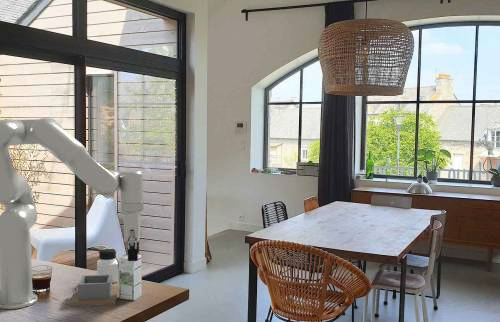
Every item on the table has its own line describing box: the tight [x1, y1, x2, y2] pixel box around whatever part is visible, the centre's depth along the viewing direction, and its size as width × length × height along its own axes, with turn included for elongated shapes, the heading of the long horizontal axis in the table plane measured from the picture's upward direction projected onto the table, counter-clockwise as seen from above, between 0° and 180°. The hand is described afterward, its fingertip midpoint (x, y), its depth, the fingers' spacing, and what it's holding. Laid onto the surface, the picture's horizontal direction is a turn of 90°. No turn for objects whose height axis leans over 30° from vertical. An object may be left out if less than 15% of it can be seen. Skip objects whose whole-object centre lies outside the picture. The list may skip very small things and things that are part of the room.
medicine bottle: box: [96, 247, 119, 284], centre depth 187 cm, size 7×7×12 cm
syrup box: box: [118, 253, 143, 302], centre depth 169 cm, size 6×6×14 cm
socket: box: [70, 274, 119, 307], centre depth 168 cm, size 14×14×6 cm
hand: (133, 256), depth 169 cm, fingers open, 9 cm apart
